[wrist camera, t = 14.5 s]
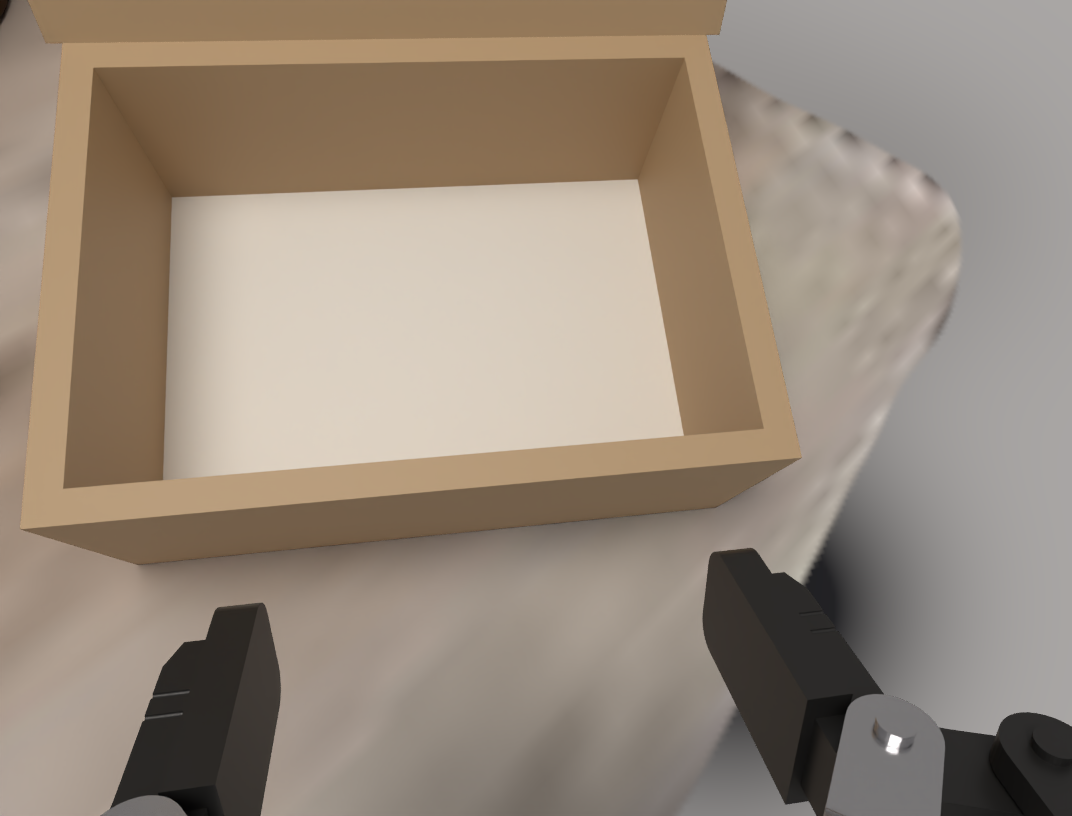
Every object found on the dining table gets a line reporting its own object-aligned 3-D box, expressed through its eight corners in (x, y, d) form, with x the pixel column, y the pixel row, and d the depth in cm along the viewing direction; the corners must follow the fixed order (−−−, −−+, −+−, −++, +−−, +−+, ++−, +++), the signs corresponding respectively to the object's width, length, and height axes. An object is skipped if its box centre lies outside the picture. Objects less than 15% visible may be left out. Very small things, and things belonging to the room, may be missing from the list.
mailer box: (716, 507, 31) (802, 457, 23) (137, 564, 28) (19, 529, 20) (652, 167, 36) (706, 35, 28) (152, 186, 33) (62, 43, 25)
